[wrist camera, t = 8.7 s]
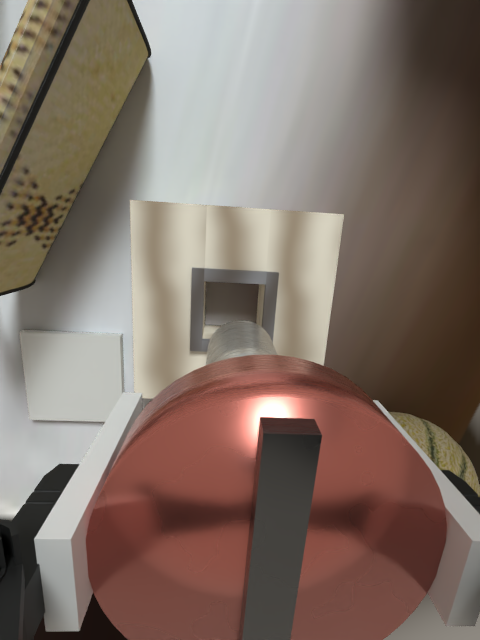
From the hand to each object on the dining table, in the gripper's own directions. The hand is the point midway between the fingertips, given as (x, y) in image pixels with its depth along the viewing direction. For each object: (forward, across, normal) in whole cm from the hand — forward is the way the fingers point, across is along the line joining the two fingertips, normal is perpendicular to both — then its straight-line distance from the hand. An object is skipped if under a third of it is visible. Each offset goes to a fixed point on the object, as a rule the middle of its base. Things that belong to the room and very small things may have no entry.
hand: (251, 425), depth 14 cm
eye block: (+25, 0, 0) cm, 25 cm away
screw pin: (+9, 0, 0) cm, 9 cm away
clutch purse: (+26, -18, +13) cm, 34 cm away
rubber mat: (+25, -18, -10) cm, 33 cm away
